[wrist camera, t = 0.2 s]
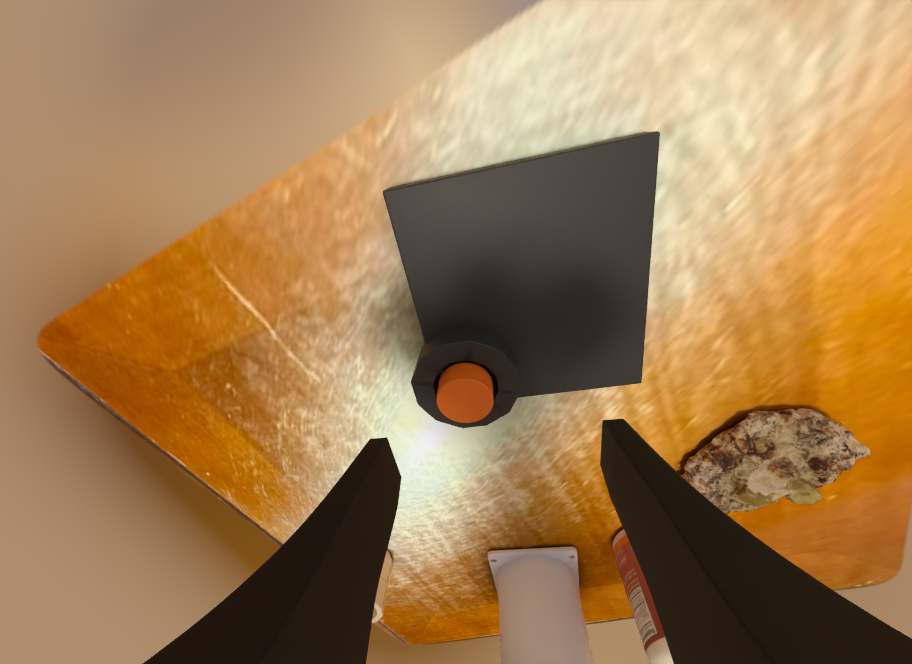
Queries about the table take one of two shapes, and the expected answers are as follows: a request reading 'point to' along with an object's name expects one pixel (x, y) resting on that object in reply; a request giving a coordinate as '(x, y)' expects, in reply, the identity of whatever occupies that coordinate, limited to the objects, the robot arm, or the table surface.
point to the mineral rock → (773, 459)
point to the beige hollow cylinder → (382, 588)
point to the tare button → (465, 393)
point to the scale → (532, 270)
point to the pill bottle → (641, 602)
